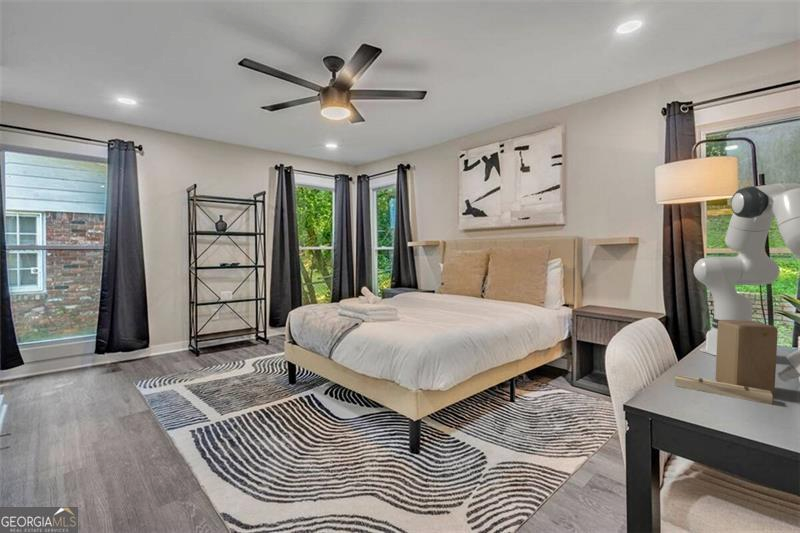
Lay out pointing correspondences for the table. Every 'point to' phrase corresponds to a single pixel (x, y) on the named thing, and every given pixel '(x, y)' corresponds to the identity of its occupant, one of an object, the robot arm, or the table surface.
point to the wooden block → (746, 354)
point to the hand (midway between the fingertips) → (780, 378)
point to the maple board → (724, 389)
